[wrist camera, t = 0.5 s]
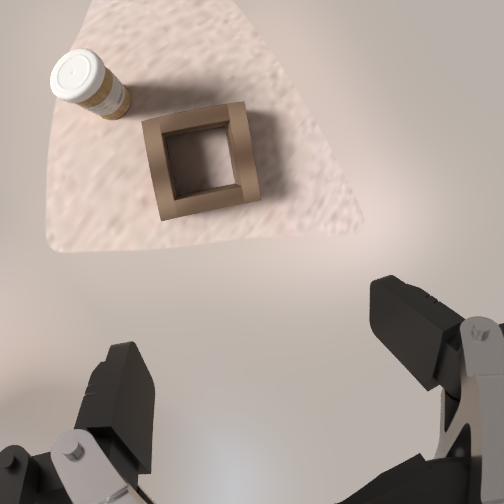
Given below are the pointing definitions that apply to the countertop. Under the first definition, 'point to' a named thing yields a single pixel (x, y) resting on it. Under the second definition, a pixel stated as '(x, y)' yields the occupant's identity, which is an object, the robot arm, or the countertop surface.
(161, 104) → the countertop surface
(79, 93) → the sprinkles bottle
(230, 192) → the frame
